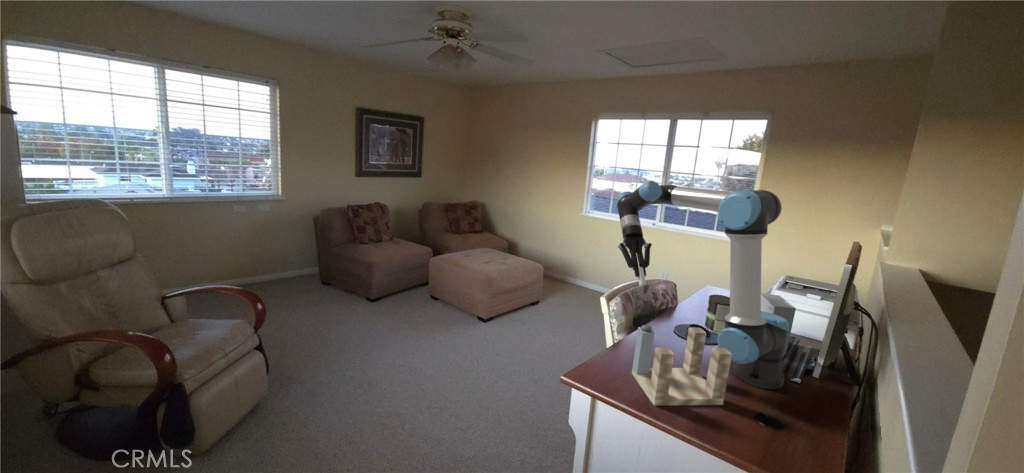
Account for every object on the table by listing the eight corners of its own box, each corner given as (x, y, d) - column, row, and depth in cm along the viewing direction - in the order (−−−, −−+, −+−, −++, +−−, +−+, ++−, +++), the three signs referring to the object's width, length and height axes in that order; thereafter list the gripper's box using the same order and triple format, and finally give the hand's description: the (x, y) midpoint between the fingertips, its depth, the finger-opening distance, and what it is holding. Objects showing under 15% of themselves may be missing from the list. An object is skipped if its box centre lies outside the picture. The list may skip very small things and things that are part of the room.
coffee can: (700, 328, 183) (705, 298, 180) (709, 322, 190) (714, 292, 187) (725, 336, 176) (731, 305, 173) (733, 329, 184) (738, 299, 180)
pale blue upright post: (643, 367, 144) (649, 324, 140) (648, 374, 140) (655, 330, 136) (632, 367, 143) (638, 324, 140) (637, 374, 140) (643, 329, 136)
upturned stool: (692, 372, 146) (700, 327, 143) (722, 404, 129) (732, 354, 125) (631, 373, 144) (637, 327, 140) (654, 405, 127) (661, 354, 123)
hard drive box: (786, 357, 161) (796, 308, 156) (764, 354, 162) (774, 306, 158) (770, 339, 176) (779, 294, 171) (750, 337, 177) (759, 292, 173)
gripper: (643, 233, 170) (655, 288, 159) (612, 232, 169) (622, 288, 158) (651, 224, 163) (663, 280, 153) (618, 223, 162) (629, 281, 151)
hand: (642, 284), depth 155 cm, fingers closed
